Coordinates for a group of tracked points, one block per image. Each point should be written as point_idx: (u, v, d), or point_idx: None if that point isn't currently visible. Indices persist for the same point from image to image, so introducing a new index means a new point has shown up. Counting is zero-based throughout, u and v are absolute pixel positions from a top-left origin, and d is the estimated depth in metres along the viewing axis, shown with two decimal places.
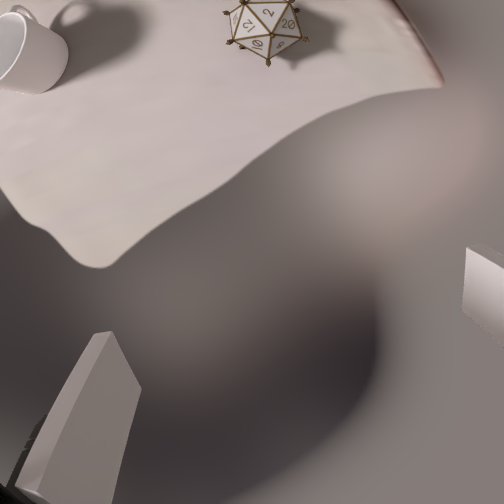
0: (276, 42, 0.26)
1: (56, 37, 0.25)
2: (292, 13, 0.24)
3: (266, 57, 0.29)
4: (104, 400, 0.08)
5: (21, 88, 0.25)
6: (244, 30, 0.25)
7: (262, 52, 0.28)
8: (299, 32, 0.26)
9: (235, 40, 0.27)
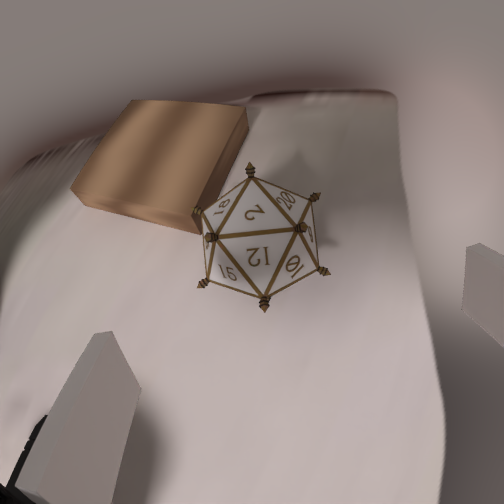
0: (307, 235, 0.18)
1: None
2: (270, 184, 0.19)
3: (315, 268, 0.20)
4: (104, 400, 0.08)
5: None
6: (261, 269, 0.17)
7: (306, 268, 0.19)
8: (302, 197, 0.20)
9: (266, 295, 0.18)
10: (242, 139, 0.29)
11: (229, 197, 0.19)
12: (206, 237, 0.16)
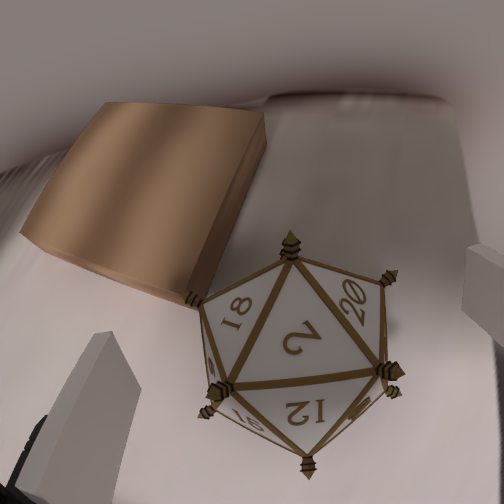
0: None
1: None
2: (325, 269, 0.10)
3: (383, 392, 0.11)
4: (104, 400, 0.08)
5: None
6: (308, 427, 0.09)
7: (373, 399, 0.10)
8: (371, 282, 0.11)
9: (310, 451, 0.09)
10: (258, 159, 0.20)
11: (251, 292, 0.10)
12: (211, 397, 0.08)
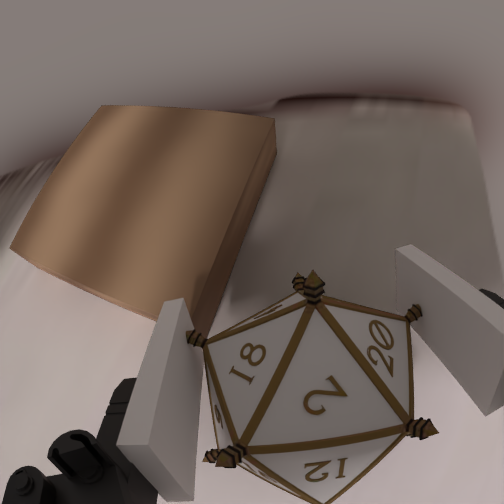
0: None
1: None
2: (350, 311, 0.09)
3: None
4: (184, 360, 0.09)
5: None
6: (327, 482, 0.07)
7: None
8: (397, 319, 0.10)
9: (327, 500, 0.08)
10: (268, 170, 0.19)
11: (264, 338, 0.09)
12: (222, 465, 0.06)
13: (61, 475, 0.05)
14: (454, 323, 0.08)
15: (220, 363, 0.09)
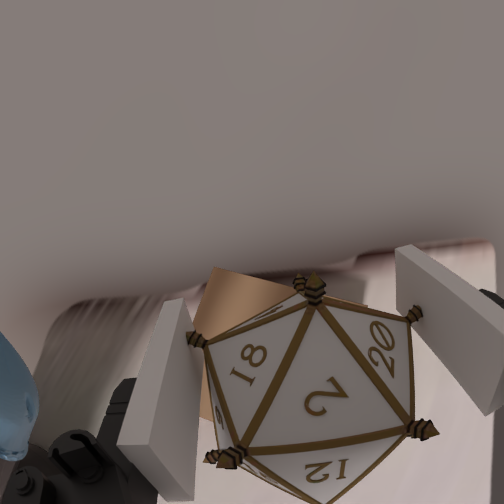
0: None
1: None
2: (351, 312, 0.09)
3: None
4: (184, 360, 0.09)
5: None
6: (327, 483, 0.07)
7: None
8: (398, 320, 0.10)
9: (327, 500, 0.08)
10: None
11: (265, 339, 0.09)
12: (223, 466, 0.06)
13: (61, 475, 0.05)
14: (454, 323, 0.08)
15: (221, 364, 0.09)
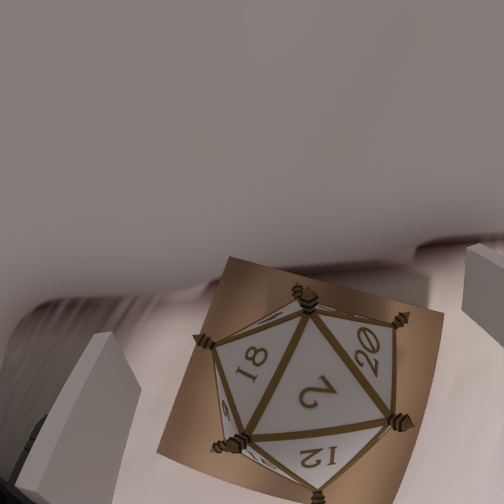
0: None
1: None
2: (341, 319, 0.10)
3: (390, 427, 0.11)
4: (104, 400, 0.08)
5: None
6: (320, 468, 0.08)
7: (381, 435, 0.10)
8: (384, 326, 0.11)
9: (320, 486, 0.09)
10: None
11: (266, 342, 0.10)
12: (230, 450, 0.07)
13: None
14: None
15: (227, 364, 0.11)
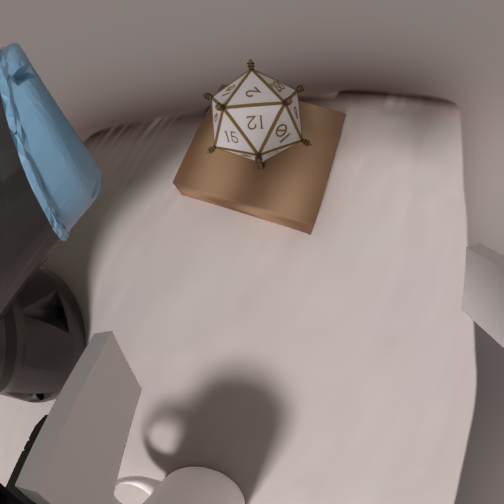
0: (292, 111, 0.22)
1: (196, 480, 0.22)
2: (266, 76, 0.22)
3: (299, 139, 0.24)
4: (104, 400, 0.08)
5: None
6: (256, 131, 0.22)
7: (292, 137, 0.23)
8: (290, 87, 0.23)
9: (260, 153, 0.23)
10: None
11: (234, 83, 0.22)
12: (217, 106, 0.20)
13: None
14: None
15: (218, 97, 0.23)
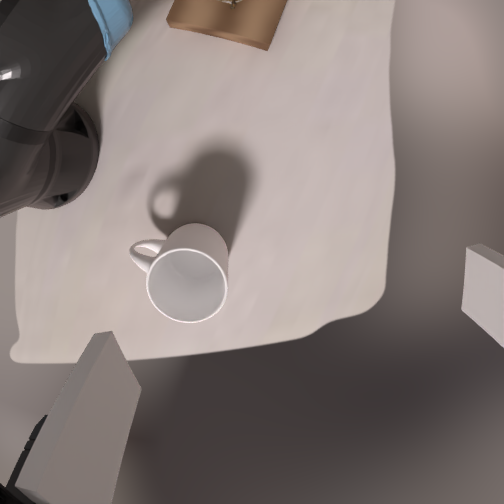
0: None
1: (193, 228, 0.38)
2: None
3: None
4: (104, 400, 0.08)
5: None
6: None
7: None
8: None
9: (234, 0, 0.26)
10: None
11: None
12: None
13: None
14: None
15: None
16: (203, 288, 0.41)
